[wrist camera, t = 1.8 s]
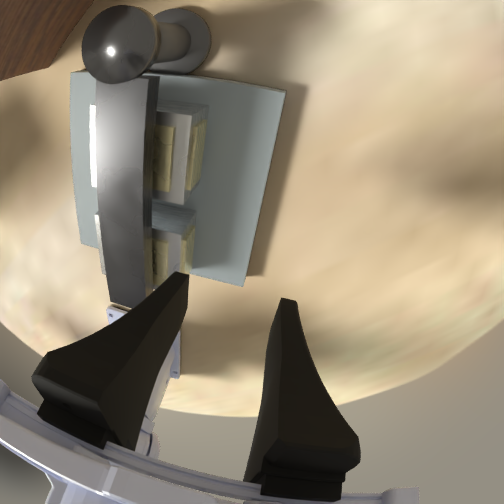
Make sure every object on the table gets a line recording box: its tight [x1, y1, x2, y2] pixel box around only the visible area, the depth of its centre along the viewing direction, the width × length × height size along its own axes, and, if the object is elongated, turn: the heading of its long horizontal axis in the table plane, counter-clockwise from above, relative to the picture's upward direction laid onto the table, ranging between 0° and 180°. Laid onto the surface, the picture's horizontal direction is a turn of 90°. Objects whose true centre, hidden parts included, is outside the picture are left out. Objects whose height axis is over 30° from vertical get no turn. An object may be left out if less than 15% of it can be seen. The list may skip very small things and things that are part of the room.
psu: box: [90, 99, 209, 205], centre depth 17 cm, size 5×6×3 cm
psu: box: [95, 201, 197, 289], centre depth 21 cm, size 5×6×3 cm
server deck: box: [70, 9, 286, 287], centre depth 18 cm, size 18×14×6 cm
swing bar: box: [82, 5, 162, 308], centre depth 15 cm, size 18×4×2 cm, turn 170°
